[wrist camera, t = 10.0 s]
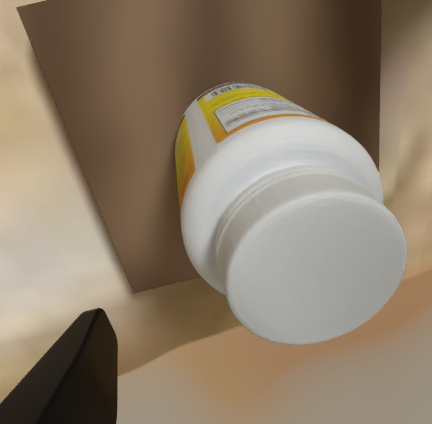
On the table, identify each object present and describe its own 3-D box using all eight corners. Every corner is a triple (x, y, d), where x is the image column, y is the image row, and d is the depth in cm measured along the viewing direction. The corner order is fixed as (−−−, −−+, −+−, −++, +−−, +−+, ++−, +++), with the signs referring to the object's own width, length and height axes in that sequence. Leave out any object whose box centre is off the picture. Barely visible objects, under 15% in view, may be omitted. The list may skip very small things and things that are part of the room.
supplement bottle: (229, 217, 18) (290, 402, 9) (148, 141, 16) (124, 288, 7) (316, 143, 17) (486, 273, 8) (242, 49, 15) (362, 80, 6)
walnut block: (357, -65, 15) (382, -78, 13) (360, 217, 22) (377, 233, 20) (34, 10, 15) (16, 7, 13) (136, 271, 21) (133, 293, 20)
